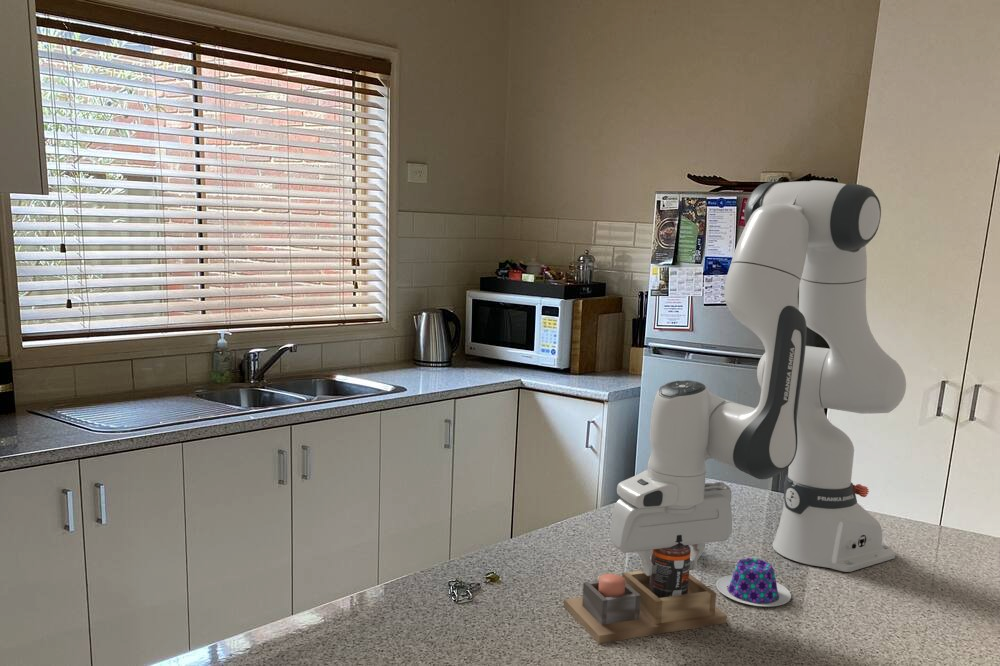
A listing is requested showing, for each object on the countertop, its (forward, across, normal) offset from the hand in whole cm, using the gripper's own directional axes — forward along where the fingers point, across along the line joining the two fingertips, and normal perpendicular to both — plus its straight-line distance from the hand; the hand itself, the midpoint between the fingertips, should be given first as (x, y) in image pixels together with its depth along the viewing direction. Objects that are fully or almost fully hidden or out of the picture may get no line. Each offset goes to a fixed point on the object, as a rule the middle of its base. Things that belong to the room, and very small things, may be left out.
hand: (669, 571), depth 130 cm
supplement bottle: (+5, 0, 0) cm, 5 cm away
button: (+3, +10, 0) cm, 11 cm away
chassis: (+6, +4, 0) cm, 8 cm away
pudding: (+7, -18, -2) cm, 19 cm away
